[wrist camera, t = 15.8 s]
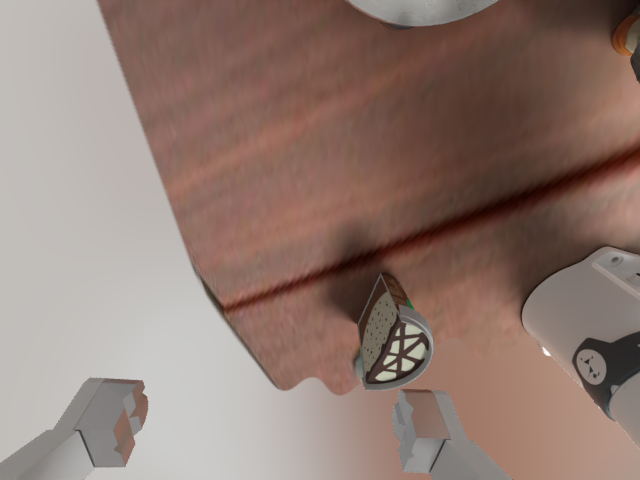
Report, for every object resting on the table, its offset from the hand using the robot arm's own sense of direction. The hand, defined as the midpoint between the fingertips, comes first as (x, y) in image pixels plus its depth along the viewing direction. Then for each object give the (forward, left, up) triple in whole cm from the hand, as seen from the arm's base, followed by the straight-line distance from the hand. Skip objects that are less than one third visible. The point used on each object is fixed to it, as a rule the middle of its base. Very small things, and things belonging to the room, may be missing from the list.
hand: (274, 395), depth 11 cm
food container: (-14, +20, -29) cm, 38 cm away
